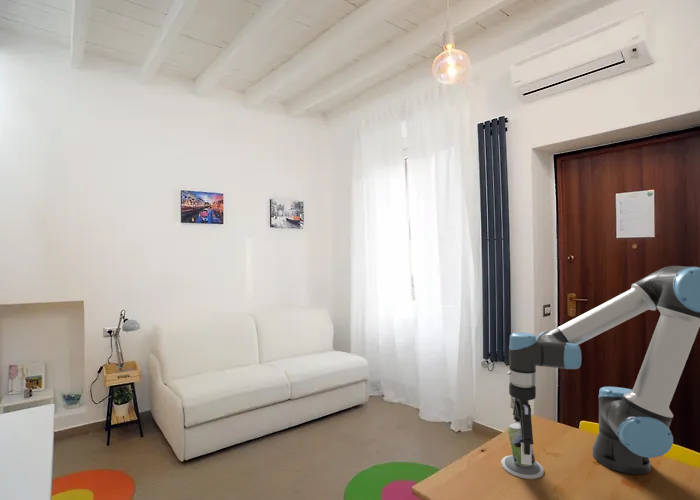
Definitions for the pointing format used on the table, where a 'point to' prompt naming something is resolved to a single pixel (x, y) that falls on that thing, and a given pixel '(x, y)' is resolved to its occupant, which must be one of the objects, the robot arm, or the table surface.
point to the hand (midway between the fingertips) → (522, 452)
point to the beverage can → (517, 443)
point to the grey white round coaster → (522, 468)
